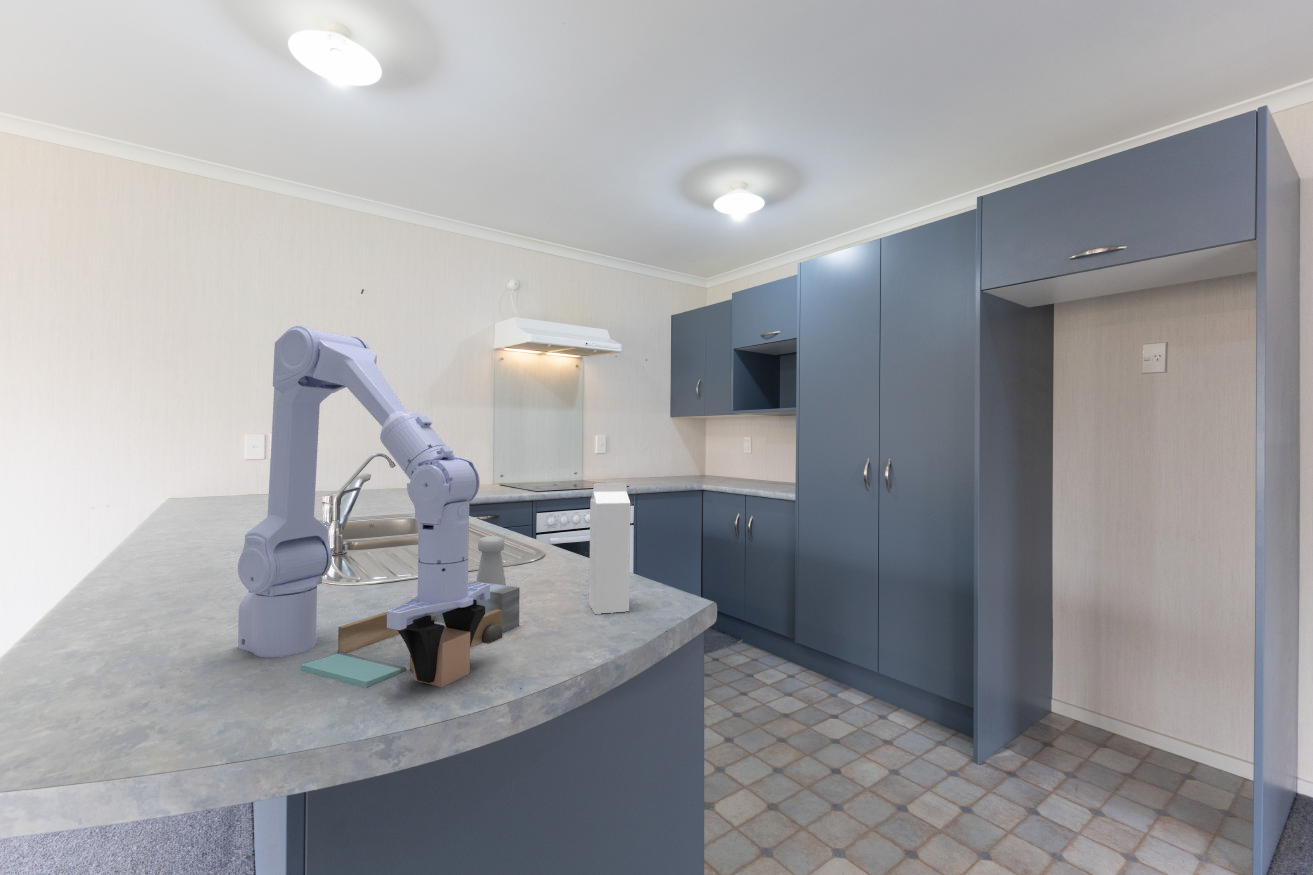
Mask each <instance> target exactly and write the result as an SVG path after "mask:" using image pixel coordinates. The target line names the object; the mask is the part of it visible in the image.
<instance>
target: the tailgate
mask: <svg viewBox="0 0 1313 875" xmlns="http://www.w3.org/2000/svg"><path fill="white" fill-rule="evenodd" d="M300 671H302V672H305V673H309V674H313V675H317V676H319V677H324V678H328V679H331V680H335V681H339V682H342V683H346V684H350V685H354V686H358V687H360V688H361V687H362V688H365V689H367V688H369V687H372V686H374V685H376V684H379V683H381V682H383V681H385V680H387V679H388V680H389V679H390V678H392V677H394V676H395V677H396V676H397V675H399V674H402V673H404V672H406V671H407V668H406V667H404V666H401V665H397V664H391V663H390V662H389V663H388V662H385V661H380V660H376V659H371V658H366V657H363V656H360V655H359V656H358V655H355V654H350V653H342V652H339V653H338V652H337V653H335V654H331V655H329V656H325V657H322V658H318V659H316V660H312V661H309V662H306V663H302V664H300Z"/></svg>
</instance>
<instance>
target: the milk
mask: <svg viewBox="0 0 1313 875" xmlns="http://www.w3.org/2000/svg"><path fill="white" fill-rule="evenodd" d="M592 487H593V492H592V495H591V497H590V501H589V502H590V506H589V507H590V508H589V511H590V512H589V513H590V516H589V573H588V574H589V581H588V582H589V584H588V585H589V586H588V587H589V589H588V590H589V592H588V596H589V597H588V599H589V600H588V606H589V605H590V606H589V607H590V609H591V608H592V609H591V610H592V612H593V614H594V615H595V614H597V615H602V614H601V613H611V614H614V613H613V612H625V611H629V612H630V573H631V572H630V567H631V566H630V565H631V562H630V560H631V559H630V558H631V557H630V556H631V553H630V552H631V501H630V497H629V494H628V484H627V483H626V482H599V483H597V482H596V483H594V484H593V486H592ZM625 613H626V612H625Z"/></svg>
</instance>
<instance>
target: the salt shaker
mask: <svg viewBox="0 0 1313 875" xmlns="http://www.w3.org/2000/svg"><path fill="white" fill-rule="evenodd" d="M477 549H478V552H481V556H480V561H479V565H478V571H477V575H476V576H477V577H476V581H477V582H484V583H491V584H498V585H505V586H507V583H506V576H505V570H504V564H503V558H502V551H504V549H505V539H504V538H503V537H501V536H498V535H497V536H496V535H487V536H483V537H481V538H480V539H479V540H478V545H477Z"/></svg>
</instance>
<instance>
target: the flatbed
mask: <svg viewBox="0 0 1313 875" xmlns="http://www.w3.org/2000/svg"><path fill="white" fill-rule="evenodd" d="M475 583H478V582H477V580H470V579H468V585H471V584H475ZM479 583H484V582H479ZM486 584H490V599H487V600H479V601H477V605H483V606H485V615H484V617H483V618H482V620H481V622H480V623H479V625H478V627H477V630H476V632H475V634H474V637H473V640H472V643H471V647H470V648H472V647H474V646H477V645H479V644H481V643H485V644H491V643H493V642H495V641H498V640H500V639H501V638H503V636H504V635H503V633H506V632H508V631H511V630H513V629H515V628H518V627H520V592H521V591H520V586H519V587H518V586H511V585H506V586H505V585H498V584H491V583H486ZM432 620H434V622H439V623H443V624H445V622H444V618H443V615H442V613H441V614H438V615H435V616H433V617H431V621H432ZM337 629H338V630H337V632H338V633H337V634H338V635H337V644H338V645H337V653H339V652H342V653H347V654H349V653H350V652H353V651H356V650H359V649H361V648H364V647H367V646H369V645H372V644H375V643H378V642H382V641H384V640H386V639H389V638H392V637H395V636H397V635H400V633H399V632H398V631H397V630H396V629H390V628H387V611H385V612H382V613H378V614H375V615H373V616H369V617H365V618H362V619H359V620H356V621H353V622H349V623H345V624H343V625H340V626H338V627H337ZM409 670H410V671H412V672H413V661H412V658H411V655H410V654H409Z"/></svg>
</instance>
